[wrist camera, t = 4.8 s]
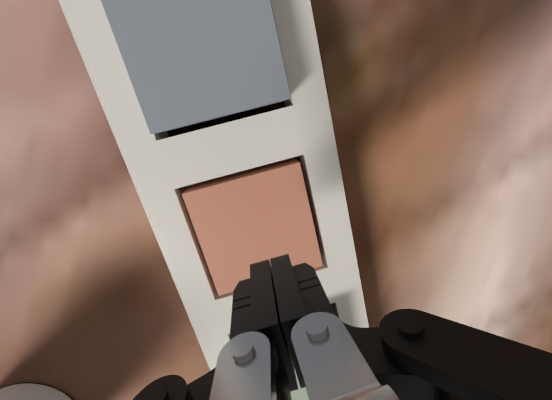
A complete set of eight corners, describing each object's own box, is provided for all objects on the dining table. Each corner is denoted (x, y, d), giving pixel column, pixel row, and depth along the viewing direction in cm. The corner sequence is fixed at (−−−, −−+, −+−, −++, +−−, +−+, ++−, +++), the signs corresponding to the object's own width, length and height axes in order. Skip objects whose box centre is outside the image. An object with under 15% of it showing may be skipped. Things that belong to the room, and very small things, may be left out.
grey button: (251, -45, 12) (253, -76, 10) (284, 100, 14) (291, 98, 12) (111, -12, 12) (86, -38, 10) (163, 132, 14) (150, 134, 12)
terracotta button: (292, 157, 16) (299, 162, 14) (314, 249, 18) (323, 265, 16) (188, 184, 16) (181, 194, 14) (221, 276, 17) (218, 295, 16)
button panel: (274, -107, 13) (282, -157, 11) (367, 374, 22) (382, 405, 20) (58, -59, 13) (17, -101, 10) (242, 412, 22) (242, 449, 19)
